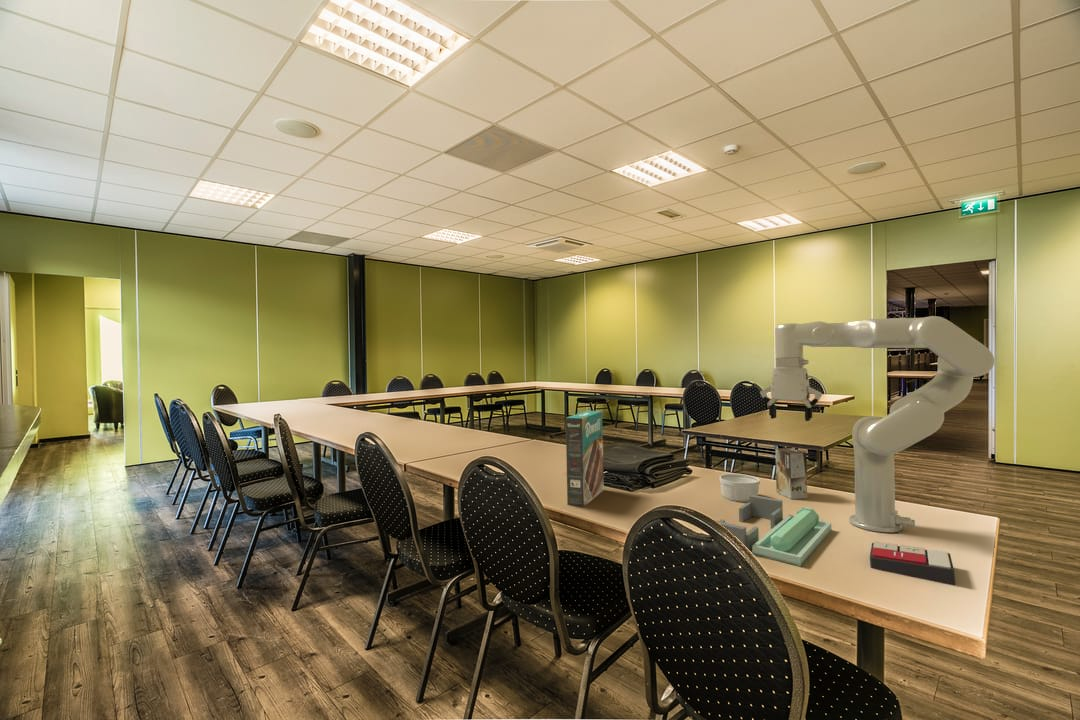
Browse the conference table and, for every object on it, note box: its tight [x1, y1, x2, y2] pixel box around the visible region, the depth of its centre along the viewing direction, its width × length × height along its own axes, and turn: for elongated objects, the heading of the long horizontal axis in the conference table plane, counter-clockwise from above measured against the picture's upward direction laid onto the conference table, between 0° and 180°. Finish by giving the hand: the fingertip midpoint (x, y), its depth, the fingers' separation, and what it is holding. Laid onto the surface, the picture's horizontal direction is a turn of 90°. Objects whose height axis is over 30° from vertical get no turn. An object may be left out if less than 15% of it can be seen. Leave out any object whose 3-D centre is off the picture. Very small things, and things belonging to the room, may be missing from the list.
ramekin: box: [719, 473, 761, 503], centre depth 168 cm, size 13×13×7 cm
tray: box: [751, 514, 832, 568], centre depth 128 cm, size 11×31×2 cm, turn 137°
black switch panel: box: [869, 540, 956, 586], centre depth 111 cm, size 11×4×15 cm
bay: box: [715, 495, 784, 551], centre depth 136 cm, size 10×32×6 cm, turn 137°
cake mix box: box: [565, 410, 605, 508], centre depth 172 cm, size 22×6×30 cm, turn 155°
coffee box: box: [775, 447, 808, 500], centre depth 169 cm, size 9×6×16 cm
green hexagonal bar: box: [771, 507, 820, 552], centre depth 128 cm, size 6×6×25 cm
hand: (790, 419), depth 146 cm, fingers open, 9 cm apart
